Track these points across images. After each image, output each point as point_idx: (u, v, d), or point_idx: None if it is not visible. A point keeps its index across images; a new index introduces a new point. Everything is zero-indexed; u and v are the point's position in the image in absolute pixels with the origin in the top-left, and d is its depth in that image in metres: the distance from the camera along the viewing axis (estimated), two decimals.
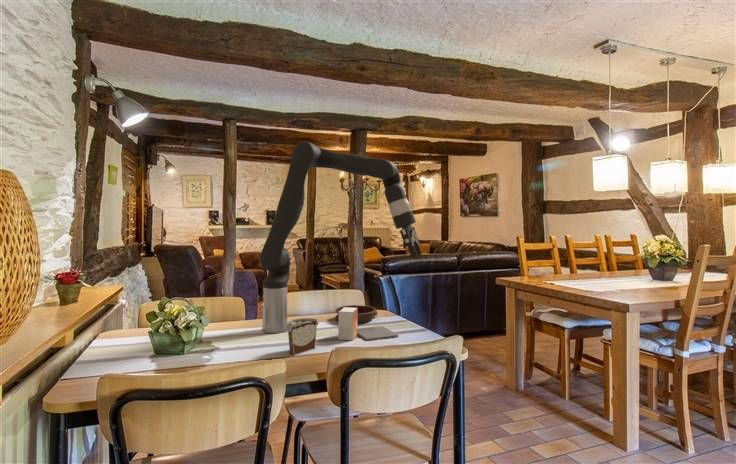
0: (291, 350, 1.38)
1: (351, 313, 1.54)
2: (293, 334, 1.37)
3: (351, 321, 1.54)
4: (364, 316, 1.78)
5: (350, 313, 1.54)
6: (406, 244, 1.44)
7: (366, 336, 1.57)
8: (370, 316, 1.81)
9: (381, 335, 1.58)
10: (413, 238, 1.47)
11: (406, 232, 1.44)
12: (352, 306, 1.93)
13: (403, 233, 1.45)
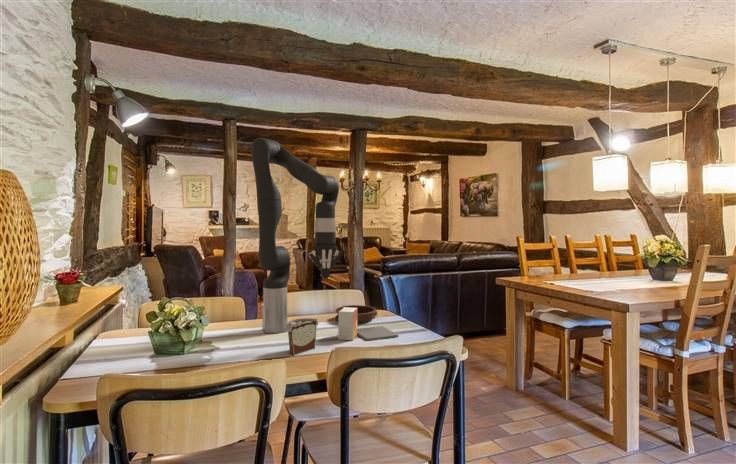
0: (291, 350, 1.38)
1: (351, 313, 1.54)
2: (293, 334, 1.37)
3: (351, 321, 1.54)
4: (364, 316, 1.78)
5: (350, 313, 1.54)
6: (316, 265, 1.53)
7: (366, 336, 1.57)
8: (370, 316, 1.81)
9: (381, 335, 1.58)
10: (323, 260, 1.52)
11: (311, 257, 1.51)
12: (352, 306, 1.93)
13: (310, 257, 1.52)
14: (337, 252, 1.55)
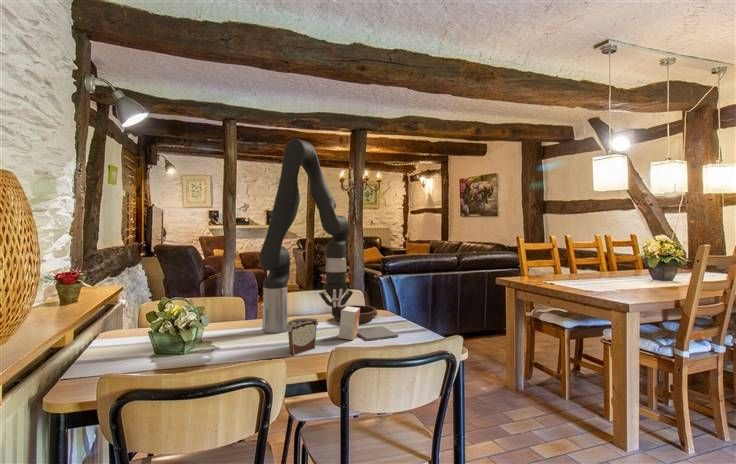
0: (291, 350, 1.38)
1: (354, 313, 1.54)
2: (293, 334, 1.37)
3: (353, 321, 1.54)
4: (364, 316, 1.78)
5: (353, 313, 1.54)
6: (327, 304, 1.55)
7: (366, 336, 1.57)
8: (370, 316, 1.81)
9: (381, 335, 1.58)
10: (334, 300, 1.54)
11: (322, 297, 1.53)
12: (352, 306, 1.93)
13: (321, 296, 1.54)
14: (347, 291, 1.57)
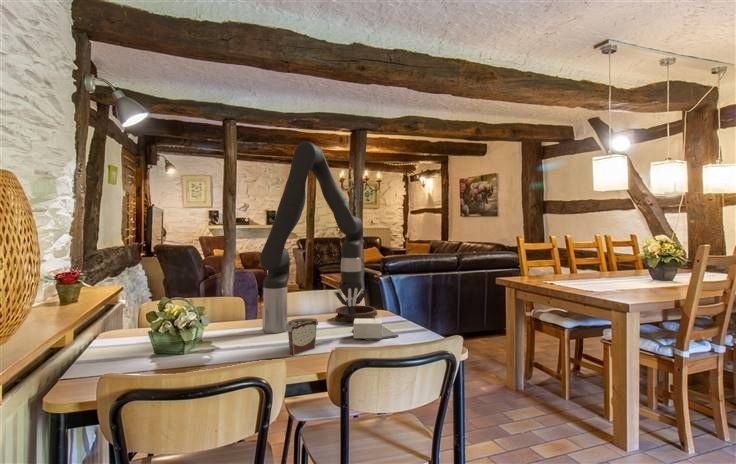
0: (291, 350, 1.38)
1: (380, 336, 1.54)
2: (293, 334, 1.37)
3: (372, 336, 1.54)
4: (364, 316, 1.78)
5: (380, 335, 1.54)
6: (342, 303, 1.58)
7: None
8: (370, 316, 1.81)
9: None
10: (349, 299, 1.56)
11: (337, 296, 1.55)
12: None
13: (336, 296, 1.56)
14: (362, 290, 1.60)
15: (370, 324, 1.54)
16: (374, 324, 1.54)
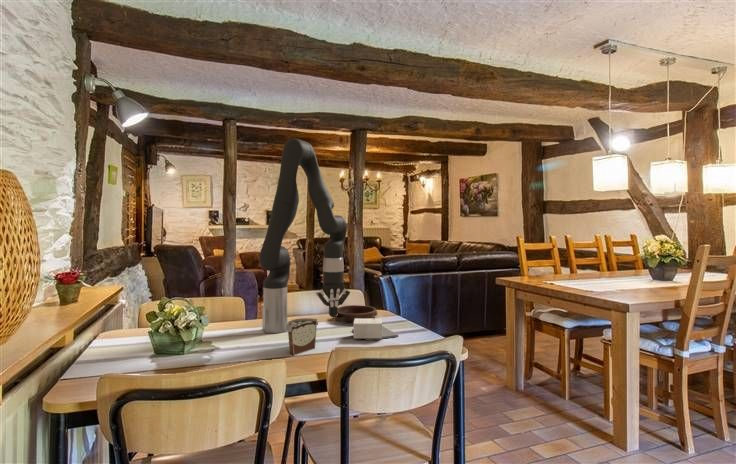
0: (291, 350, 1.38)
1: (380, 336, 1.54)
2: (293, 334, 1.37)
3: (372, 337, 1.54)
4: (364, 316, 1.78)
5: (380, 335, 1.54)
6: (324, 304, 1.55)
7: None
8: (370, 316, 1.81)
9: None
10: (331, 300, 1.54)
11: (319, 297, 1.53)
12: (352, 306, 1.93)
13: (318, 296, 1.54)
14: (345, 291, 1.57)
15: (370, 324, 1.54)
16: (374, 324, 1.54)
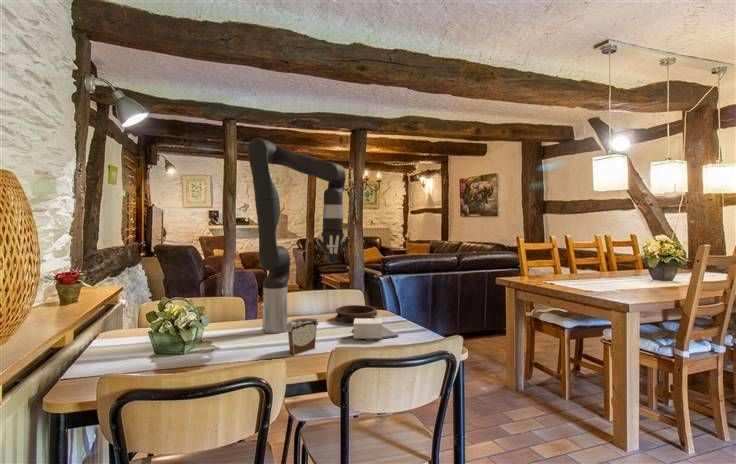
0: (291, 350, 1.38)
1: (380, 336, 1.54)
2: (293, 334, 1.37)
3: (372, 337, 1.54)
4: (364, 316, 1.78)
5: (380, 335, 1.54)
6: (324, 251, 1.57)
7: None
8: (370, 316, 1.81)
9: None
10: (330, 246, 1.56)
11: (319, 243, 1.55)
12: (352, 306, 1.93)
13: (318, 243, 1.56)
14: (344, 238, 1.59)
15: (370, 324, 1.54)
16: (374, 324, 1.54)
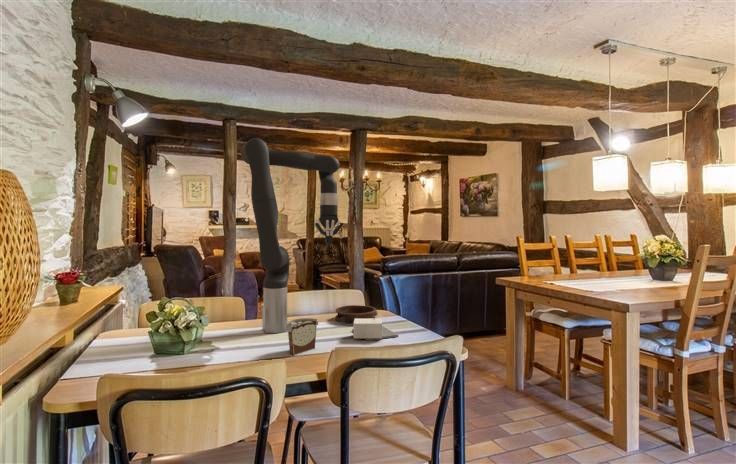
0: (291, 350, 1.38)
1: (380, 336, 1.54)
2: (293, 334, 1.37)
3: (372, 337, 1.54)
4: (364, 316, 1.78)
5: (380, 335, 1.54)
6: (321, 233, 1.80)
7: None
8: (370, 316, 1.81)
9: None
10: (327, 229, 1.79)
11: (317, 226, 1.78)
12: (352, 306, 1.93)
13: (316, 226, 1.79)
14: (339, 222, 1.82)
15: (370, 324, 1.54)
16: (374, 324, 1.54)
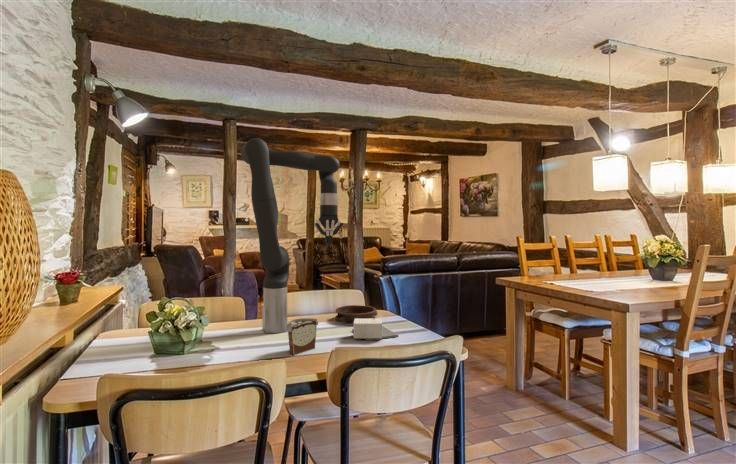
0: (291, 350, 1.38)
1: (380, 336, 1.54)
2: (293, 334, 1.37)
3: (372, 337, 1.54)
4: (364, 316, 1.78)
5: (380, 335, 1.54)
6: (321, 233, 1.81)
7: None
8: (370, 316, 1.81)
9: None
10: (327, 229, 1.79)
11: (317, 226, 1.78)
12: (352, 306, 1.93)
13: (316, 226, 1.79)
14: (339, 223, 1.82)
15: (370, 324, 1.54)
16: (374, 324, 1.54)
